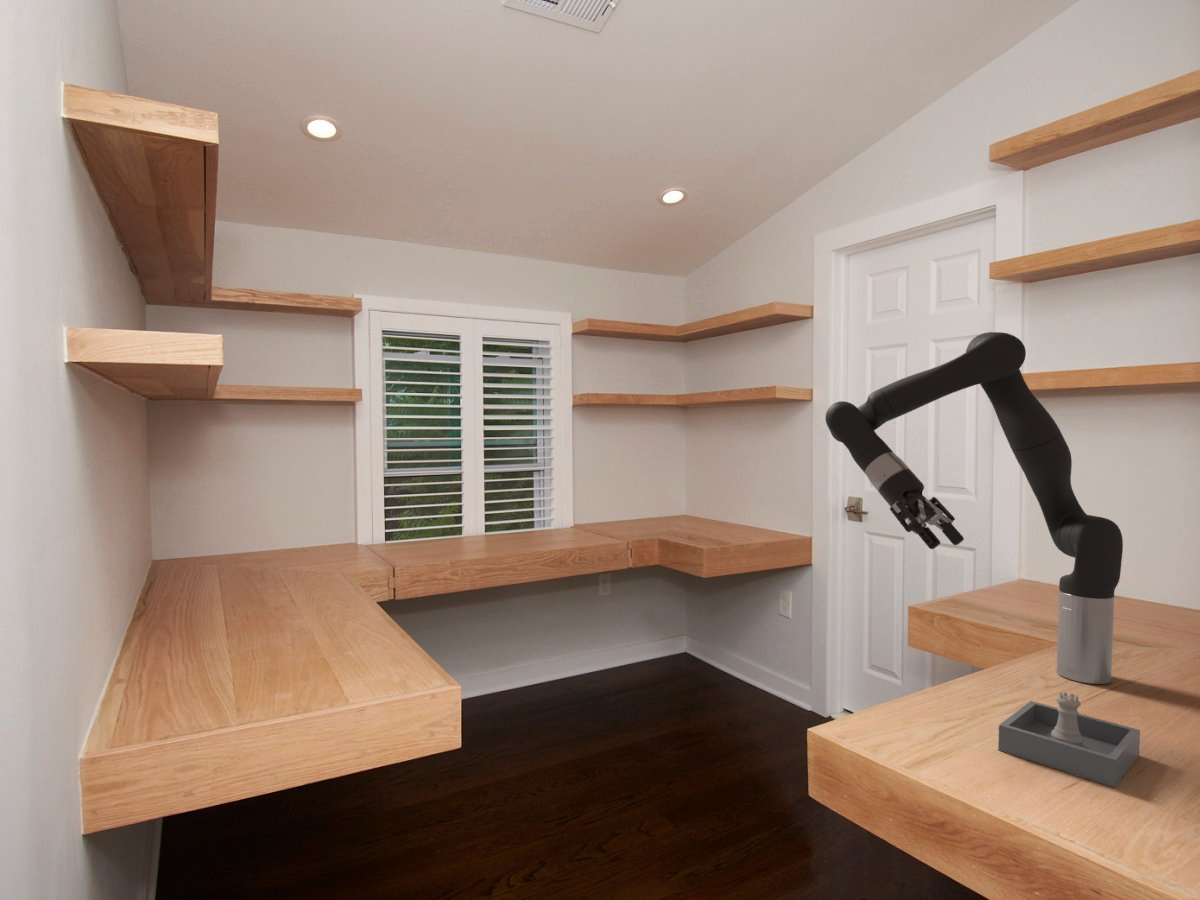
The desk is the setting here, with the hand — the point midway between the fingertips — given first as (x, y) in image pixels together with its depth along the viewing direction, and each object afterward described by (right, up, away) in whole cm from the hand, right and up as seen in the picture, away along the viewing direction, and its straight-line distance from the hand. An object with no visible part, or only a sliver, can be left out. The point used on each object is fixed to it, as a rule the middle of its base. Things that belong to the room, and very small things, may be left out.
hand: (948, 544), depth 130 cm
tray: (+7, -29, -23) cm, 38 cm away
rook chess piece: (+7, -29, -23) cm, 37 cm away
